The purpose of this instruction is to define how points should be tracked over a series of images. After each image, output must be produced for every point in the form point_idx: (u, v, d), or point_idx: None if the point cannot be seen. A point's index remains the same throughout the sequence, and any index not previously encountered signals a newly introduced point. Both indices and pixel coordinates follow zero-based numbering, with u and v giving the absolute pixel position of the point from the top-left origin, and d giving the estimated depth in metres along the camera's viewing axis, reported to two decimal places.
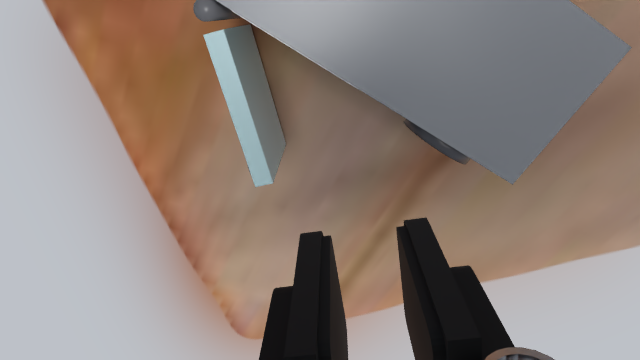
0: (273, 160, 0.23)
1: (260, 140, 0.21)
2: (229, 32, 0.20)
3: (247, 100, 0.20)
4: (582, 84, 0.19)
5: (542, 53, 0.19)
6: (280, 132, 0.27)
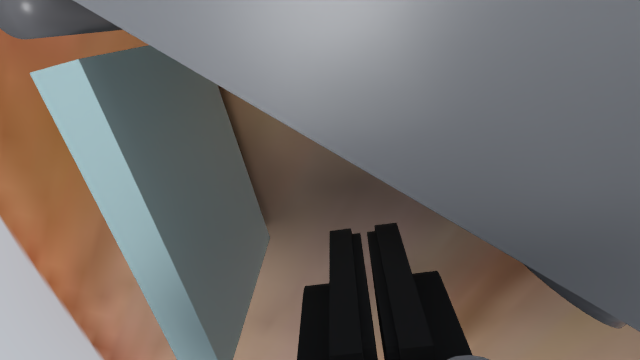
0: (233, 312, 0.11)
1: (195, 298, 0.09)
2: (110, 63, 0.08)
3: (159, 219, 0.09)
4: None
5: None
6: (258, 224, 0.15)
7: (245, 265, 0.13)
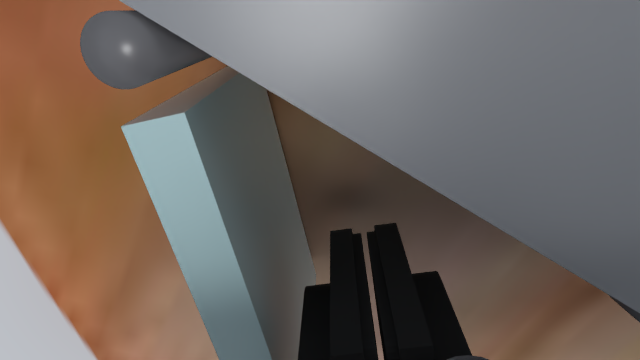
0: None
1: None
2: (206, 110, 0.07)
3: (252, 291, 0.07)
4: None
5: None
6: (309, 262, 0.14)
7: None
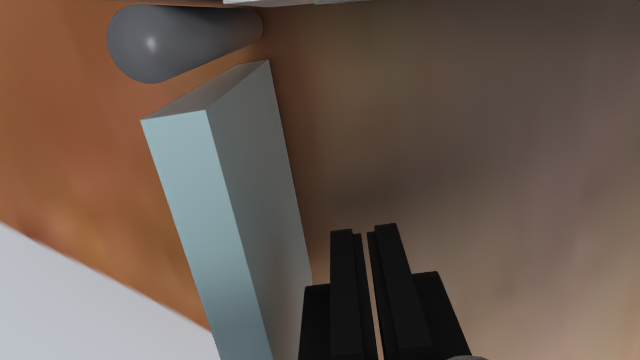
0: None
1: None
2: (223, 108, 0.07)
3: (258, 291, 0.07)
4: None
5: None
6: (306, 264, 0.14)
7: None
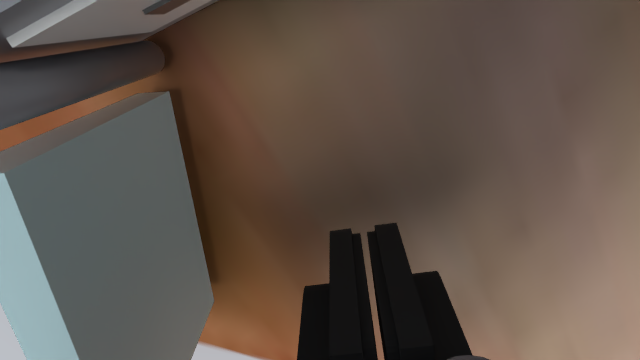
0: None
1: None
2: (47, 163, 0.07)
3: (80, 338, 0.08)
4: None
5: None
6: (203, 290, 0.14)
7: (180, 347, 0.12)
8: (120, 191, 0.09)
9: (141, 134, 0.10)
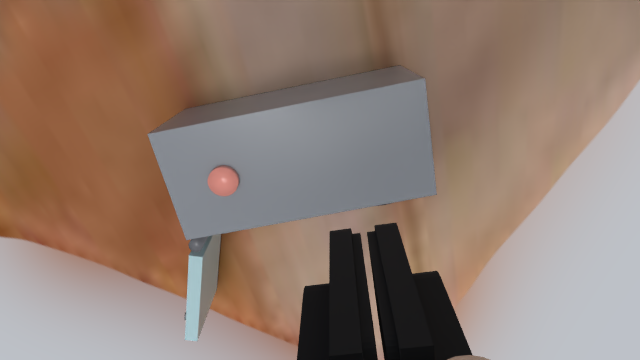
0: (203, 320, 0.34)
1: (199, 315, 0.32)
2: (205, 252, 0.31)
3: (201, 293, 0.31)
4: (418, 117, 0.26)
5: (377, 123, 0.26)
6: (215, 284, 0.38)
7: (209, 303, 0.36)
8: (210, 254, 0.33)
9: (215, 235, 0.34)
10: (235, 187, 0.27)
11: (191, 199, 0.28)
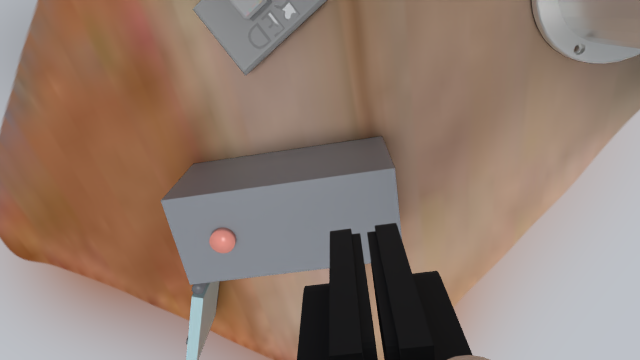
0: (202, 346, 0.39)
1: (199, 344, 0.37)
2: (206, 293, 0.36)
3: (200, 326, 0.36)
4: (388, 198, 0.30)
5: (354, 201, 0.31)
6: (214, 311, 0.43)
7: (207, 329, 0.41)
8: (210, 291, 0.38)
9: None
10: (232, 246, 0.32)
11: (195, 252, 0.33)
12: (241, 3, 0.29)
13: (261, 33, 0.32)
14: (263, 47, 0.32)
